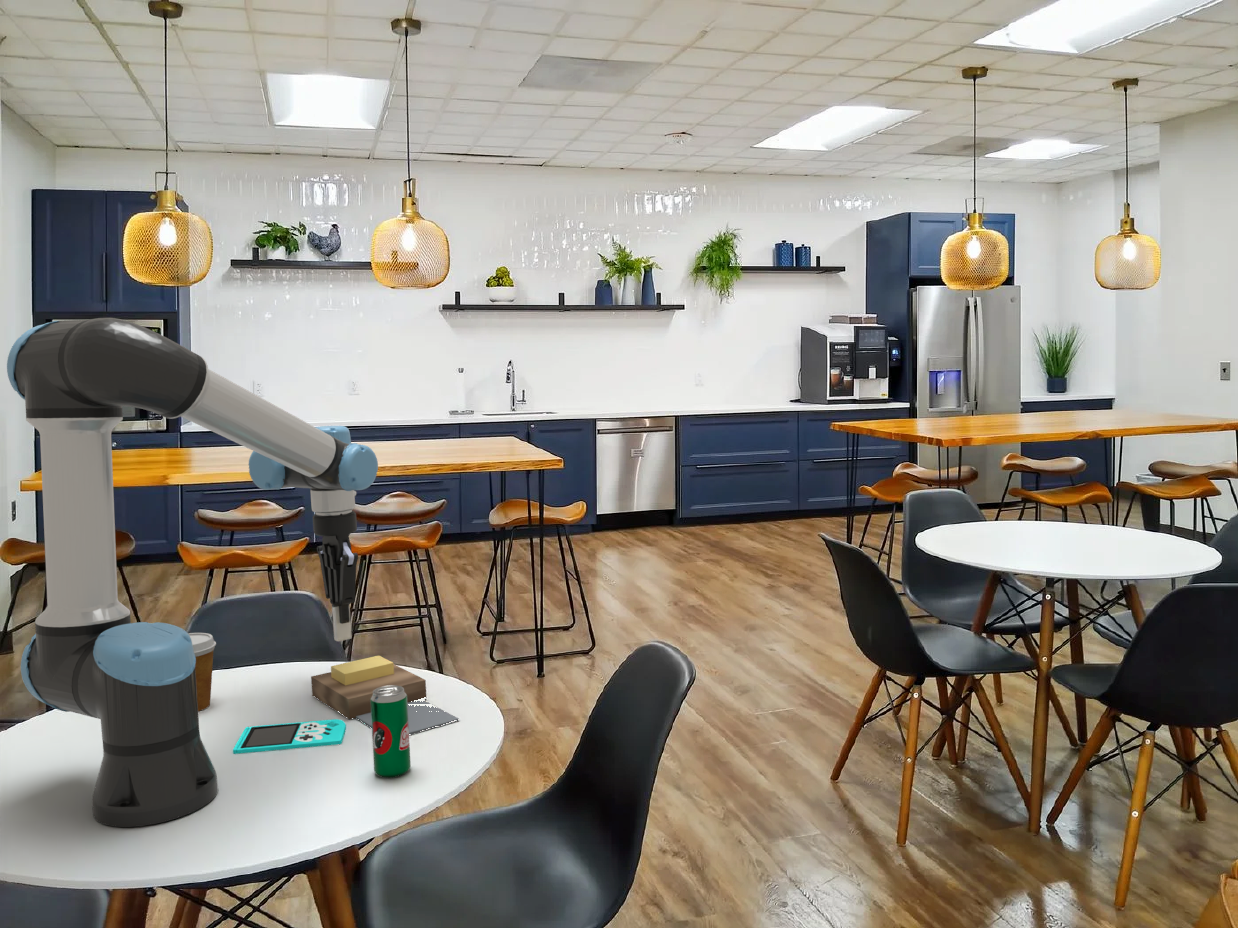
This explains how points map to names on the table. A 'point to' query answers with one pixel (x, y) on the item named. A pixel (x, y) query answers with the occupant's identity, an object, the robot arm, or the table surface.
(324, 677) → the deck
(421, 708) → the mat
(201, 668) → the disposable coffee cup
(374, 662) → the yellow rectangular block
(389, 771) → the soda can
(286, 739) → the handheld game console
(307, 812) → the table surface
